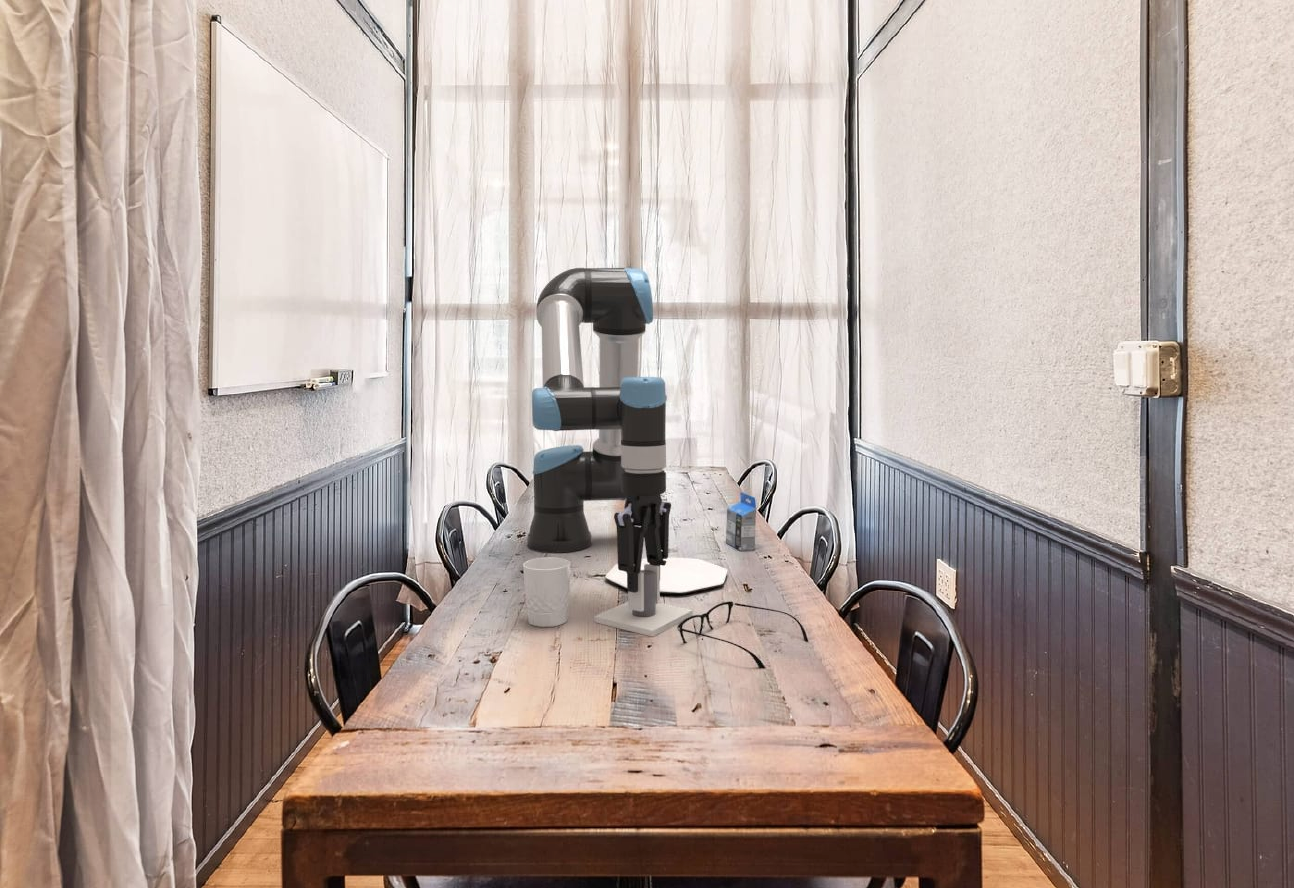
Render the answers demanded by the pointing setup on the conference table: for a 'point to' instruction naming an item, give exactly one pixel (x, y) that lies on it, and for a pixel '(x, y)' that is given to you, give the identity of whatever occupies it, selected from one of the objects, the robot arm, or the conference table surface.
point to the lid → (645, 613)
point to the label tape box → (742, 524)
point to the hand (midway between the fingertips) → (644, 605)
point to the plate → (679, 575)
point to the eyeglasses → (730, 605)
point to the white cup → (547, 590)
